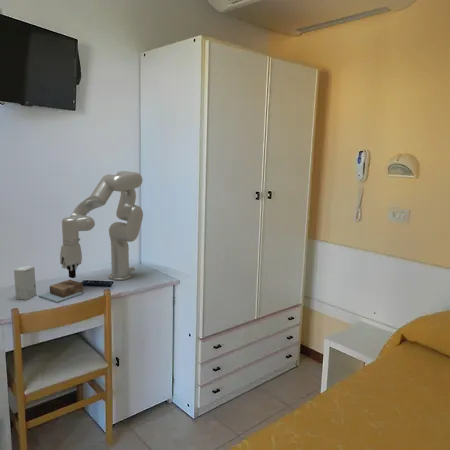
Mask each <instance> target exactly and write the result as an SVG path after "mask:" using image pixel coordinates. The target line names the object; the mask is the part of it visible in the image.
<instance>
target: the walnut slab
mask: <svg viewBox="0 0 450 450" xmlns="http://www.w3.org/2000/svg"><path fill="white" fill-rule="evenodd" d="M83 284H84V283H82V282H79V281H77V280H76V281H75V280H73V279H67V280H64V281H61V282H57V283H54V284H50V285H49V292H50V294H53V295H56V296H59V297H62V298H64V297H67V296H70V295H73V294H76V293H78V292H83V291H84V285H83Z"/></svg>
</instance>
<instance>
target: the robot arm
mask: <svg viewBox="0 0 450 450" xmlns="http://www.w3.org/2000/svg"><path fill="white" fill-rule="evenodd" d="M97 183H98V184H97V185H96V187H95V188H94V190H93V191H92V193H91V194H90V195H89V196H87V197H86V198H85V199H83V201H81V202H80V203H79V204H77V206H76V207H75V208H74V209H73V211H72V212H71V215H70V217H63V218H62V220H61V230H62V232H61V233H62V234H61V235H62V245H61V246H60V254H59V255H60V256H59V257H60V259H59V260H60V261H59V263H60V265H61V268H62V269H67V271H68V278H69V279H70V278H71V279H75V278H76V275H77V274H76V272H77V269H78V266H80V265H81V264H82V262H83V255H82V254H83V253H82V247H81V244H80V241H81V238H79V236H80V234H79V232H87V231H89V232H90V231H91V230H93V228H94V227H95V225H96V224H95V223H96V222H95V220H94V218H92V217H91V216H89V215H88V214H89V213H90V212H91V211H93V210H96V209H98V208H102V207H103V206H105V205H106V204H107V202H108V200H109V199H110V197H111V196H112V194H113V193H114V192H120V196H119V201H118V204H117V208H116V211H115V212H116V214H115V215H116V217H117V219H119V220H120V221H121V222H120V221H115V222H113V223H111V225H110V226H109V228H108V236H109V239H110V251H111V252H110V255H111V256H110V257H111V258H110V259H111V273H109V275H108V278H109V279H110V280H114V281H125V280H129V279H130V278H132V276H133V274H132V273H131V272H133V271H135V266H133V267H130V261H129V260H130V259H129V257H130V256H129V255H130V253H129V250H130V248H129V243H133V242H134V241H135V240H137V239H138V236H139V233H140V230H141V226H142V223H143V218H144V212H143V209H142V207H141V206H139V205H137V204H135V203H136V199H137V192H136V189H138V188H140V187H141V186H142V184H143V176H142V175H141V174H140V173H139V172H136V171H126V170H121V171H118V172H117V173H116V174H105V175H103V177H101V179H100V181H99V182H97ZM122 221H126V222H122Z"/></svg>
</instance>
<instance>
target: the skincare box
mask: <svg viewBox="0 0 450 450" xmlns="http://www.w3.org/2000/svg"><path fill="white" fill-rule="evenodd" d="M35 271H36V270H35V266H33V265H22V266H20V267H17V268H15V269H14V270H13V273H14V277H13V278H14V286H15V287H14V289H15V299H16V300H23V301H24V300H25V301H27V300H29V299H31V298H32V297H34V296H36V295H37V286H36V274H35V273H36V272H35Z"/></svg>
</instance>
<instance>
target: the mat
mask: <svg viewBox="0 0 450 450" xmlns="http://www.w3.org/2000/svg"><path fill="white" fill-rule="evenodd" d="M82 295H84V292H83V291H81V292H78V293H76V294H73V295H70V296H67V297H64V298H62V297H59V296H56V295H53V294H50V291H48V292H45V293H42V294H39V295H38V298H41V299H44V300H47V301H49V302H53V303H56V304H59V303H61V302H65V301H68V300H70V299H73V298H76V297H79V296H82Z"/></svg>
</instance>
